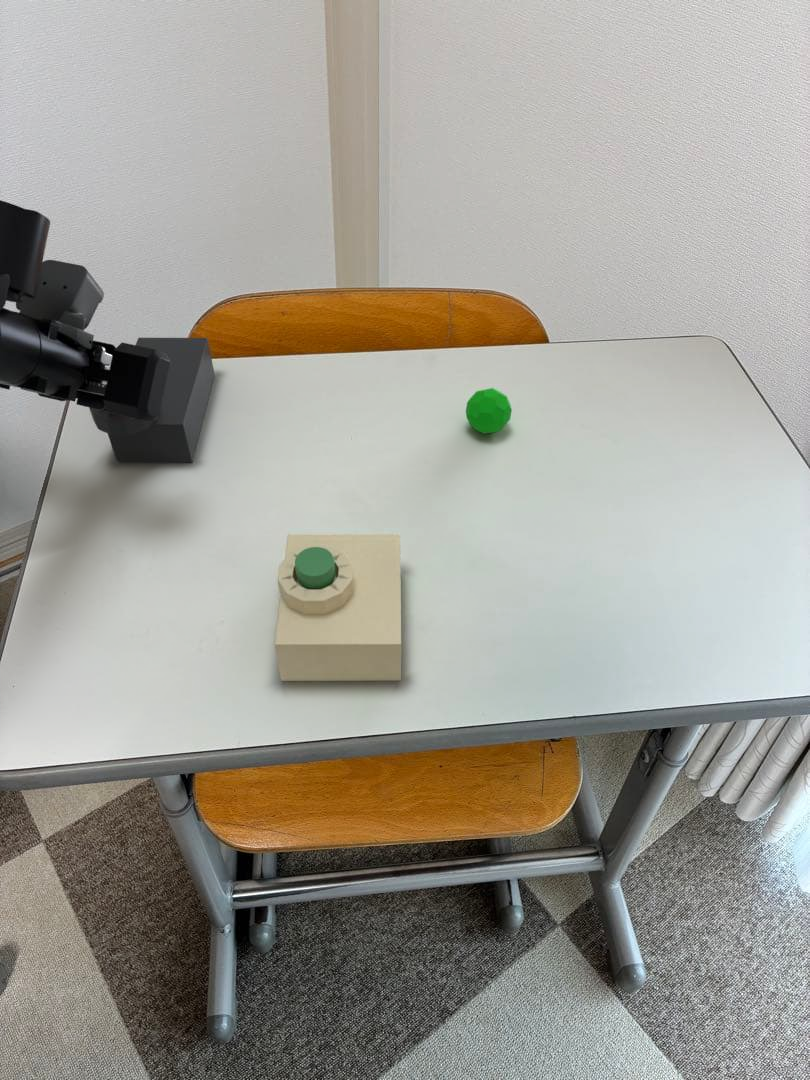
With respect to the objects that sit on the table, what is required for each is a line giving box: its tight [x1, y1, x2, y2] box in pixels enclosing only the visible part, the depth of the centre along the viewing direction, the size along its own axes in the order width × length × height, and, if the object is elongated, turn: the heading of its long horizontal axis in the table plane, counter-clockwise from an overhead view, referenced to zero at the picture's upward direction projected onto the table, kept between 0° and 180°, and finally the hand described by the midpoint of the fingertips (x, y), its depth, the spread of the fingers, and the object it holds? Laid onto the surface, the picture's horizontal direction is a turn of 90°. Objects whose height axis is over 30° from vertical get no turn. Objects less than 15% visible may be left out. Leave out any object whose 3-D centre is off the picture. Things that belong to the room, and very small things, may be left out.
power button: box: [295, 547, 335, 589], centre depth 65 cm, size 3×3×2 cm
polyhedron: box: [465, 387, 513, 435], centre depth 88 cm, size 5×5×5 cm
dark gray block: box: [88, 337, 215, 464], centre depth 87 cm, size 9×18×7 cm, turn 1°
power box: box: [274, 534, 402, 682], centre depth 68 cm, size 10×12×7 cm
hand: (118, 384), depth 79 cm, fingers closed
